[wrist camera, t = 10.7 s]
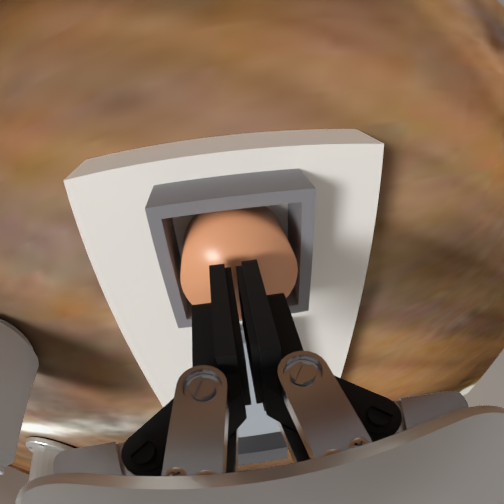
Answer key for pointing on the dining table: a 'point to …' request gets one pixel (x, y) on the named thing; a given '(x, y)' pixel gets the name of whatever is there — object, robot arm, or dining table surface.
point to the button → (236, 251)
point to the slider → (261, 448)
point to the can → (14, 387)
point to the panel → (221, 199)
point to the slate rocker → (255, 410)
